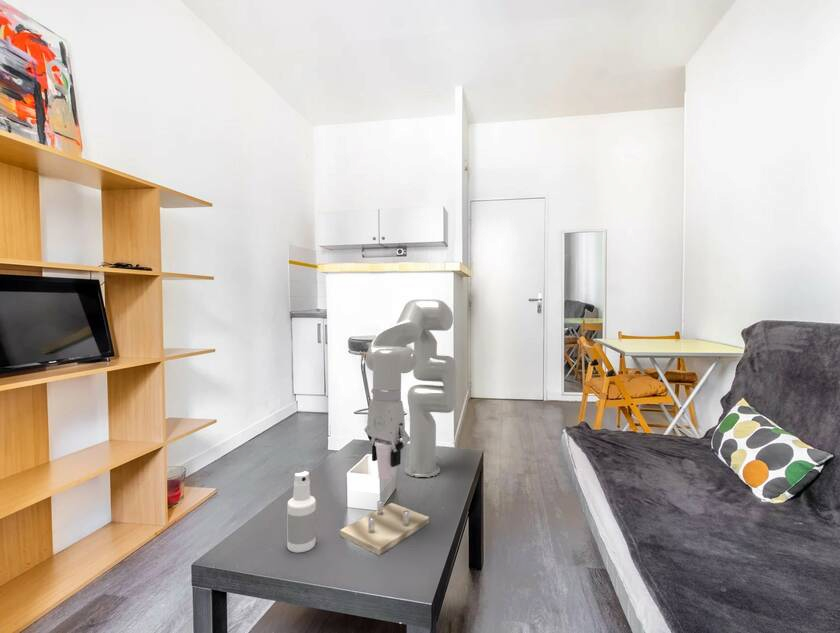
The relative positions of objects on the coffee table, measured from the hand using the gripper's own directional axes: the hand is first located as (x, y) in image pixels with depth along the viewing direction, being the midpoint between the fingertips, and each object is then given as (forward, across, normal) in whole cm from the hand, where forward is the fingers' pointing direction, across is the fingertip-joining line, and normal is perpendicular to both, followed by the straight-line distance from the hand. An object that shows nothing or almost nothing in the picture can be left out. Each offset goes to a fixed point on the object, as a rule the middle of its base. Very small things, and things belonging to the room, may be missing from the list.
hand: (386, 461), depth 112 cm
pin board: (+18, 0, 0) cm, 18 cm away
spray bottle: (+19, -11, -18) cm, 29 cm away
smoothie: (+4, 0, 0) cm, 4 cm away
